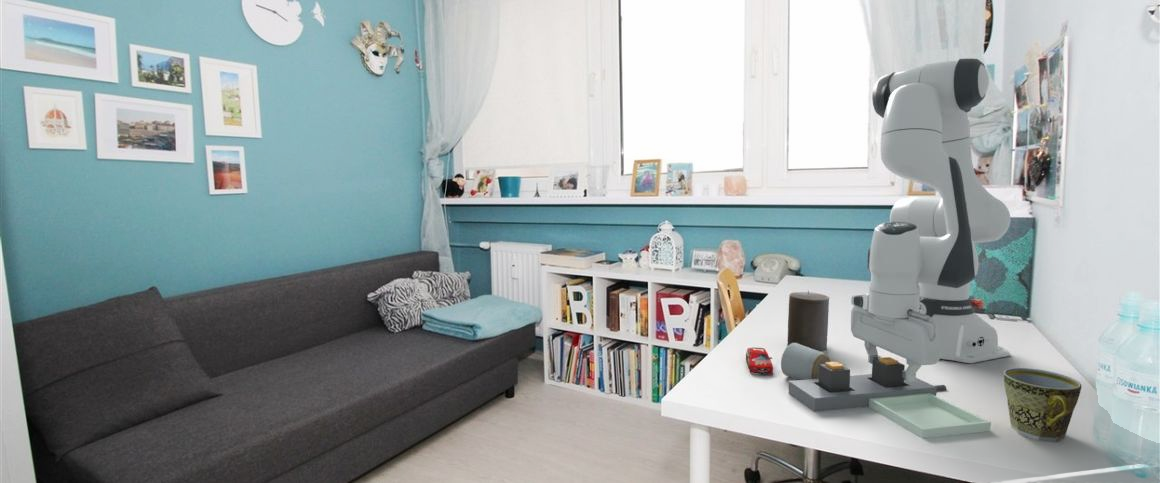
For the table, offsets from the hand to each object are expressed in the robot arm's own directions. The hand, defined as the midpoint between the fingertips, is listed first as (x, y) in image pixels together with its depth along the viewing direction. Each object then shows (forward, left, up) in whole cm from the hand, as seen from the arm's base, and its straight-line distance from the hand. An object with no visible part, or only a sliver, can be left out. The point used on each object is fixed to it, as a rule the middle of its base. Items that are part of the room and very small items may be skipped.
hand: (890, 371), depth 109 cm
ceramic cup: (-11, +21, -5) cm, 24 cm away
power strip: (+4, 0, -5) cm, 6 cm away
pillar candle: (-2, -33, -5) cm, 33 cm away
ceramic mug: (+10, -12, -5) cm, 17 cm away
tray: (+2, +11, -5) cm, 12 cm away
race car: (+17, -22, -6) cm, 28 cm away
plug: (+1, 0, -4) cm, 4 cm away
